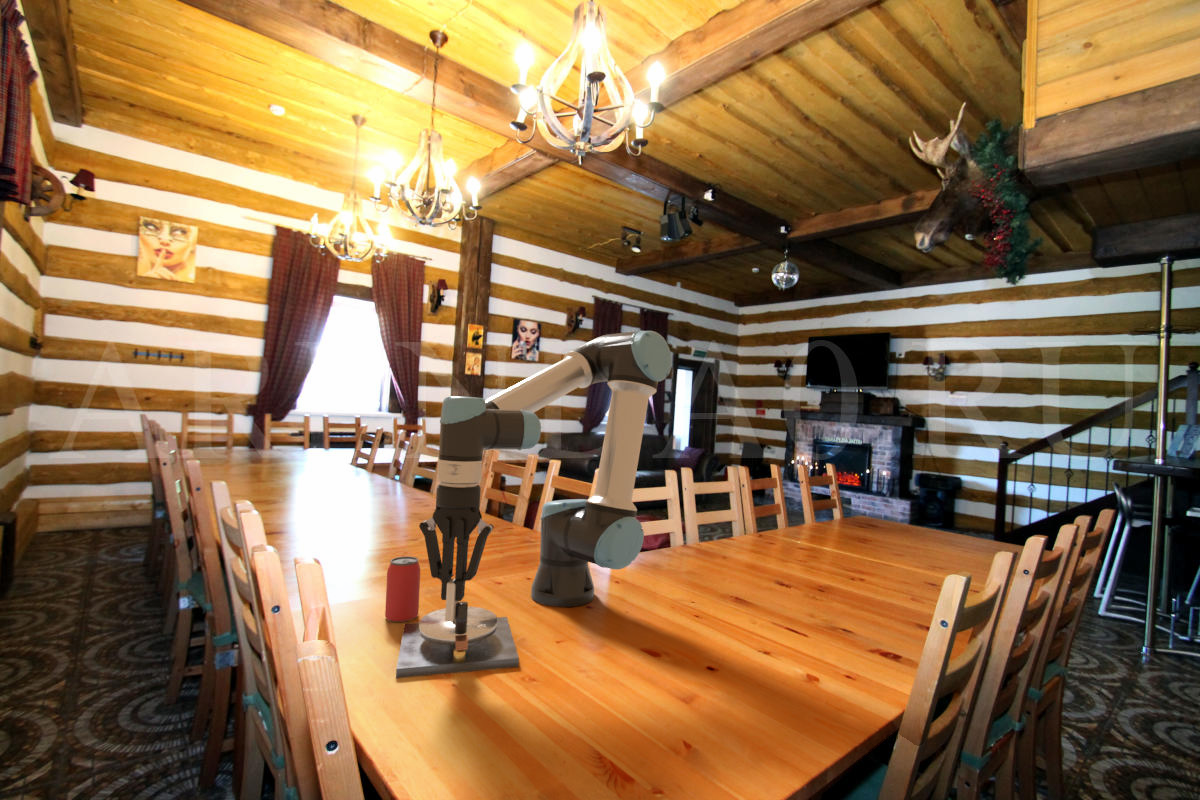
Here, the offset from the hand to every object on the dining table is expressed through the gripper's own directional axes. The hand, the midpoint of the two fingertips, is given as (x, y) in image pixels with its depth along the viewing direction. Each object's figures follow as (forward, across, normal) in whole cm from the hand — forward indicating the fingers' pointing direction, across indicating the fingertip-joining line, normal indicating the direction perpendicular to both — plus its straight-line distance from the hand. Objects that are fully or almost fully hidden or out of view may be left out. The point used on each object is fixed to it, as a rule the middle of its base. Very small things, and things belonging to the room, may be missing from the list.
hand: (451, 618), depth 95 cm
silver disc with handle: (+4, 0, +5) cm, 6 cm away
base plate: (+8, 0, +6) cm, 9 cm away
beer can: (+8, -16, +18) cm, 25 cm away
